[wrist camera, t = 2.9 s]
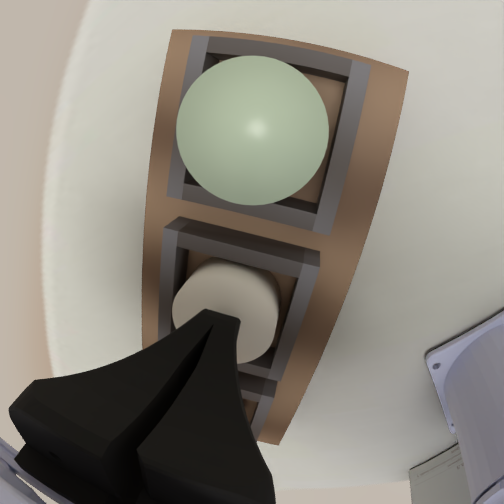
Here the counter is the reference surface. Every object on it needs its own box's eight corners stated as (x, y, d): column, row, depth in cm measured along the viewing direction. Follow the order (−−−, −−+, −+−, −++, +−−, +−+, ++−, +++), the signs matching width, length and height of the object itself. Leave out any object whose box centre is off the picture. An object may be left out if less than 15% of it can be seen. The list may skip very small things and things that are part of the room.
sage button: (213, 61, 9) (190, 49, 7) (338, 82, 8) (343, 72, 7) (192, 176, 11) (167, 188, 9) (310, 203, 10) (308, 221, 8)
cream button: (195, 243, 13) (175, 263, 11) (291, 268, 13) (286, 293, 11) (186, 320, 15) (170, 346, 13) (269, 344, 14) (262, 374, 12)
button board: (190, 40, 12) (154, 20, 9) (396, 78, 11) (421, 64, 8) (157, 385, 20) (136, 420, 17) (282, 422, 19) (274, 463, 16)
